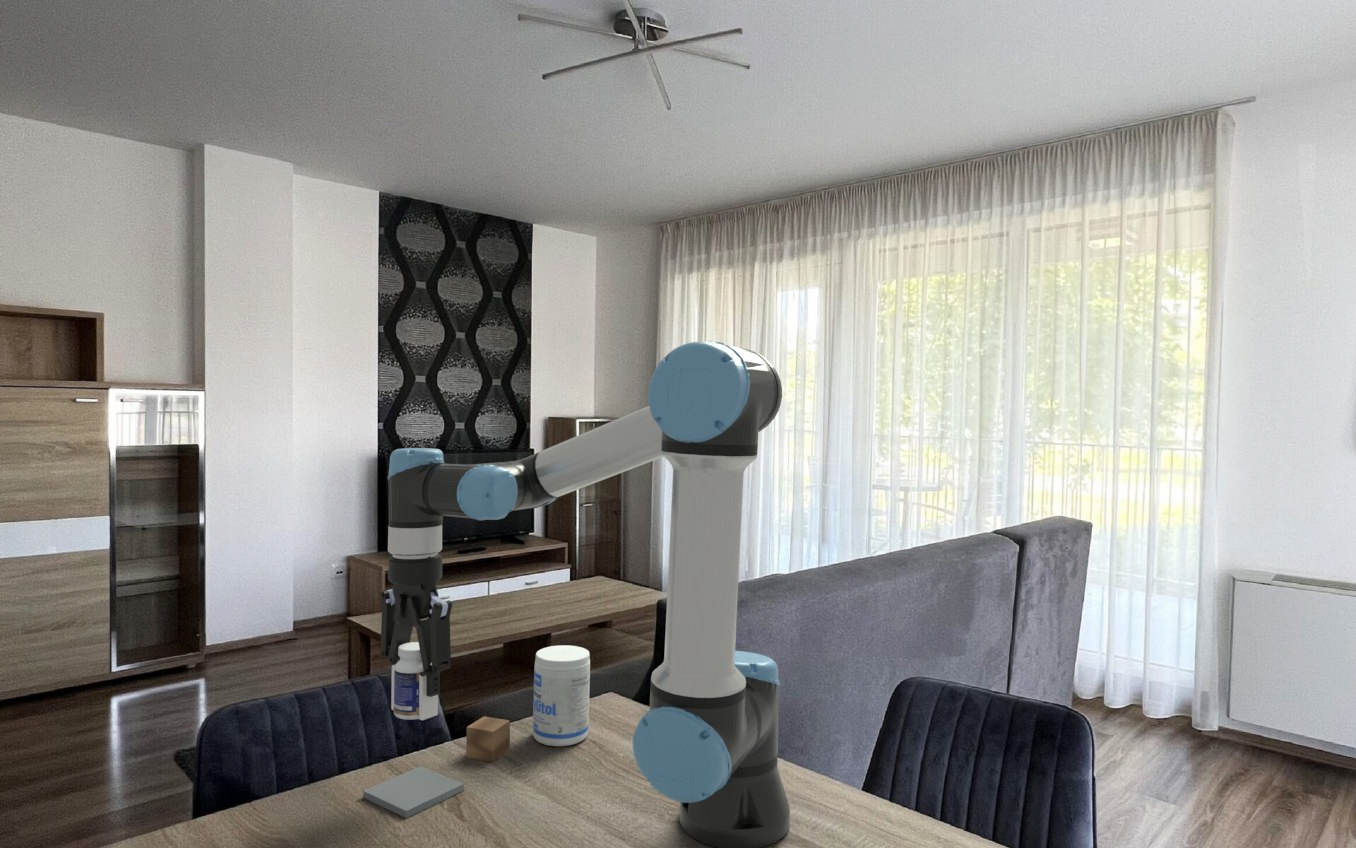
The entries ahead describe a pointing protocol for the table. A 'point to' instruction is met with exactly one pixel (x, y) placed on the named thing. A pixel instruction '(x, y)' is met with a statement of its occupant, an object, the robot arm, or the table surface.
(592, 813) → the table surface
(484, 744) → the walnut cube
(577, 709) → the supplement tub
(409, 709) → the pill bottle
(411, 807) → the slate coaster
